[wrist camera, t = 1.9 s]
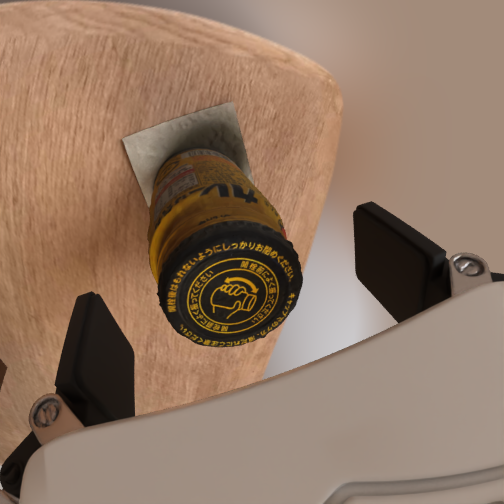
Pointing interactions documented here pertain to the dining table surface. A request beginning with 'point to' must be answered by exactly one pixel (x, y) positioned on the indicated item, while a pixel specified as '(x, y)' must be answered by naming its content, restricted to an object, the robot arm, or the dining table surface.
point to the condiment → (212, 231)
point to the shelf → (2, 372)
